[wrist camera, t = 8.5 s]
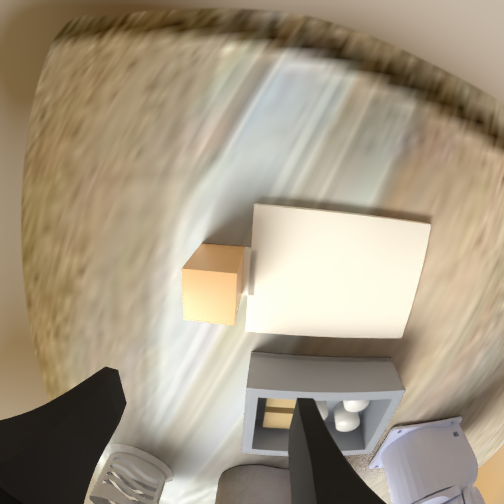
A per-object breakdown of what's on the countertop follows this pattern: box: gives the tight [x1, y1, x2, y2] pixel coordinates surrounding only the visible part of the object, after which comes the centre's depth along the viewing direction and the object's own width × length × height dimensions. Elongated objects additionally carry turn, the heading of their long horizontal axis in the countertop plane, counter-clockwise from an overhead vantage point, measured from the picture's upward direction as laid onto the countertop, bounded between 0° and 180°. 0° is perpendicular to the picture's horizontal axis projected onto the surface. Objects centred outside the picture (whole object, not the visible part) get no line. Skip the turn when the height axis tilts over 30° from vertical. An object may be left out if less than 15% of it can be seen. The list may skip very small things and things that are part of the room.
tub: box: [241, 351, 405, 456], centre depth 20 cm, size 11×8×4 cm
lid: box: [182, 203, 431, 338], centre depth 17 cm, size 15×9×4 cm, turn 86°
